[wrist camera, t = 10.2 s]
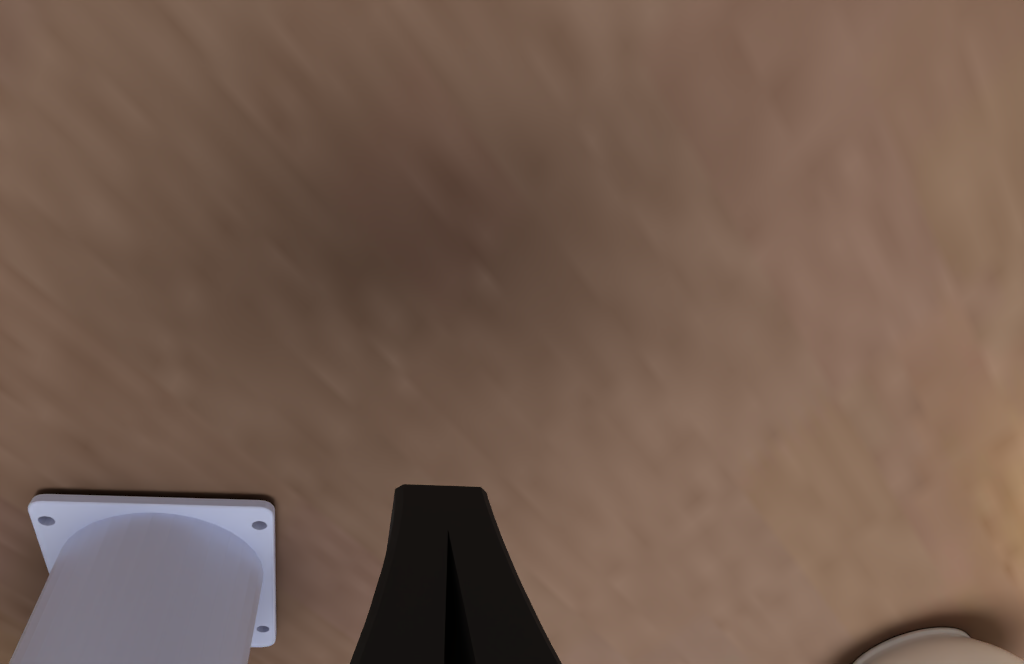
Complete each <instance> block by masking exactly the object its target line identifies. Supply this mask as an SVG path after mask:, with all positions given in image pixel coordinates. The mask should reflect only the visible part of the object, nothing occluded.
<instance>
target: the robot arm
mask: <svg viewBox="0 0 1024 664" xmlns="http://www.w3.org/2000/svg"><path fill="white" fill-rule="evenodd" d="M28 512H29V515H30V518H31V521H32V524H33V527H34V530H35V533H36V536H37V539H38V542H39V545H40V548H41V551H42V554H43V557H44V560H45V563H46V566H47V569H48V572H49V577H48V579H47V581H46V583H45V586H44V588H43V590H42V592H41V594H40V596H39V599H38V601H37V603H36V605H35V607H34V609H33V612H32V614H31V616H30V618H29V620H28V623H27V625H26V627H25V629H24V631H23V633H22V636H21V638H20V640H19V642H18V644H17V647H16V649H15V651H14V653H13V655H12V657H11V660H10V662H9V664H248V659H249V654H250V648H251V647H268V646H271V645H272V644H274V643H275V640H276V557H275V508H274V506H273V505H272V504H271V503H270V502H267V501H264V500H244V499H209V498H174V497H139V496H104V495H69V494H39V495H37V496H34V497H33V499H32V500H31V502H30V504H29V506H28ZM350 664H562V663H561V661H560V660H559V658H558V656H557V654H556V652H555V650H554V649H553V647H552V645H551V643H550V641H549V639H548V637H547V635H546V633H545V631H544V629H543V627H542V625H541V623H540V621H539V619H538V617H537V615H536V613H535V611H534V609H533V607H532V605H531V603H530V600H529V598H528V596H527V594H526V592H525V590H524V588H523V586H522V584H521V581H520V579H519V577H518V575H517V572H516V570H515V568H514V566H513V563H512V561H511V558H510V556H509V554H508V551H507V549H506V546H505V544H504V541H503V539H502V536H501V534H500V531H499V529H498V526H497V523H496V520H495V518H494V515H493V512H492V509H491V506H490V503H489V500H488V496H487V493H486V492H485V491H484V490H483V489H482V488H481V487H464V486H435V485H406V484H403V485H402V486H400V487H398V488H396V489H395V495H394V502H393V509H392V516H391V523H390V530H389V538H388V545H387V552H386V556H385V560H384V564H383V568H382V571H381V574H380V577H379V581H378V584H377V587H376V591H375V594H374V597H373V600H372V604H371V607H370V610H369V613H368V616H367V619H366V622H365V625H364V627H363V630H362V633H361V635H360V638H359V641H358V643H357V646H356V649H355V651H354V654H353V657H352V659H351V662H350Z"/></svg>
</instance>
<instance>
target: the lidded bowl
mask: <svg viewBox="0 0 1024 664" xmlns="http://www.w3.org/2000/svg"><path fill="white" fill-rule="evenodd" d="M853 664H1024V660H1022V659H1021V658H1019V657H1017V656H1015V655H1014V654H1012V653H1010V652H1008V651H1006V650H1004V649H1002V648H999V647H997V646H994V645H992V644H989V643H986V642H982V641H979V640H976V639H972V638H970V637H969V635H968V634H967V633H966V632H964V631H962V630H959V629H956V628H949V627H936V628H927V629H921V630H916V631H912V632H909V633H905V634H902V635H899V636H896V637H894V638H891V639H889V640H887V641H884V642H882V643H880V644H878V645H877V646H875V647H873V648H871V649H870V650H868V651H867V652H865V653H864V654H862V655H861V656H860V657H859V658H857V660H856V661H855V662H854V663H853Z"/></svg>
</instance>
